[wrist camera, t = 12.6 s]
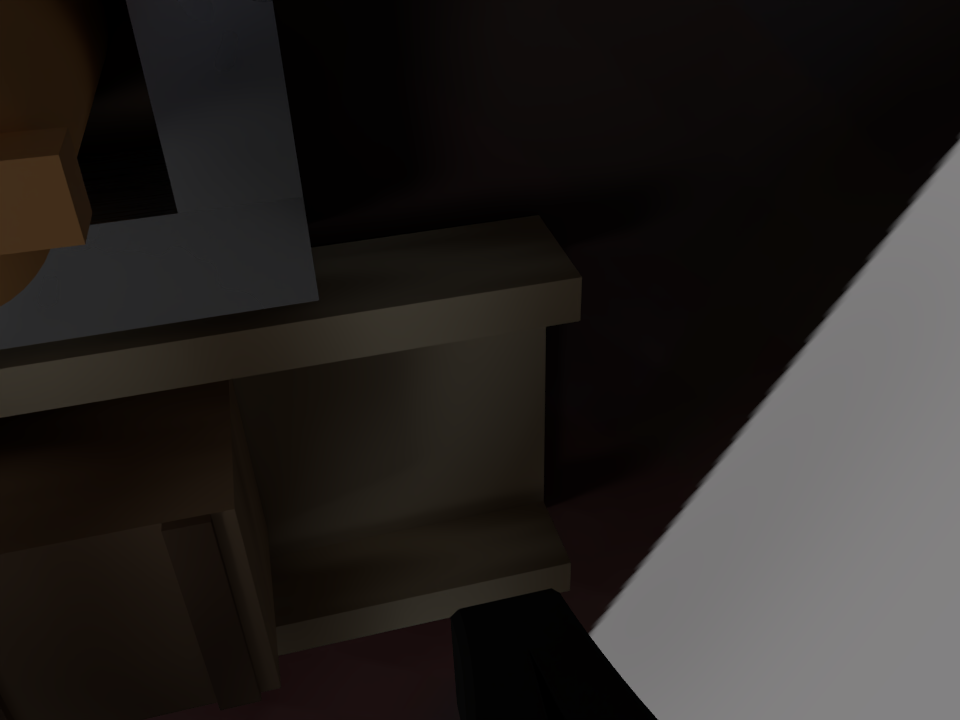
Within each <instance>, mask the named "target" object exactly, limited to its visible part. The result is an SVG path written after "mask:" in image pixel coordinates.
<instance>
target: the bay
mask: <svg viewBox="0 0 960 720" xmlns="http://www.w3.org/2000/svg"><path fill="white" fill-rule="evenodd" d="M311 251H312V257H313V264H314V270H315V276H316V283H317V289H318V296H319V300H318V301H312V302H305V303H299V304H292V305H286V306H280V307H273V308H267V309H260V310H254V311H247V312H241V313H234V314H228V315H221V316H215V317H208V318H202V319H195V320H189V321H182V322H176V323H169V324H163V325H156V326H150V327H143V328H137V329H130V330H124V331H117V332H111V333H104V334H98V335H92V336H85V337H79V338H72V339H66V340H59V341H53V342H46V343H40V344H33V345H27V346H20V347H14V348H7V349H1V350H0V418H2V417H8V416H14V415H20V414H26V413H32V412H38V411H44V410H50V409H56V408H62V407H68V406H74V405H80V404H86V403H92V402H98V401H104V400H110V399H116V398H122V397H128V396H134V395H140V394H146V393H152V392H158V391H164V390H170V389H176V388H182V387H188V386H194V385H200V384H206V383H212V382H218V381H224V380H230V379H232V381H233V385H234V389H235V394H236V398H237V402H238V407H239V411H240V415H241V419H242V424H243V428H244V432H245V436H246V441H247V445H248V449H249V453H250V458H251V462H252V466H253V470H254V475H255V479H256V483H257V487H258V492H259V496H260V500H261V504H262V509H263V513H264V517H265V521H266V526H267V530H268V540H269V552H270V564H271V576H272V588H273V600H274V612H275V623H276V635H277V647H278V656H279V655H283V654H288V653H292V652H297V651H301V650H305V649H310V648H314V647H319V646H323V645H328V644H332V643H337V642H341V641H346V640H350V639H355V638H359V637H364V636H368V635H373V634H377V633H381V632H386V631H390V630H395V629H399V628H404V627H408V626H413V625H417V624H422V623H426V622H431V621H435V620H440V619H444V618H449V617H451V616H452V615H453V614H454V613H455V612H456V611H457V610H458V609H461V608H465V607H470V606H474V605H479V604H483V603H488V602H492V601H497V600H501V599H506V598H510V597H515V596H519V595H524V594H528V593H532V592H537V591H541V590H546V589H550V588H552V589H554V590H556V591H557V592H559V593H560V592H565V591H569V590H570V573H571V562H570V560H569V557H568V555H567V553H566V551H565V548H564V546H563V544H562V542H561V539H560V537H559V535H558V533H557V530H556V528H555V526H554V524H553V521H552V519H551V517H550V515H549V512H548V510H547V508H546V506H545V503H544V437H545V358H546V327H547V326H553V325H559V324H565V323H571V322H577V321H580V314H581V288H582V277H581V275H580V274H579V272H578V271H577V269H576V268H575V266H574V265H573V264H572V262H571V261H570V259H569V258H568V256H567V255H566V254H565V252H564V251H563V249H562V248H561V246H560V245H559V243H558V242H557V241H556V239H555V238H554V236H553V235H552V233H551V232H550V230H549V229H548V228H547V226H546V225H545V223H544V222H543V220H542V219H541V217H540V216H539V215H535V216H528V217H521V218H514V219H507V220H500V221H493V222H486V223H479V224H472V225H465V226H458V227H452V228H445V229H438V230H431V231H424V232H417V233H410V234H403V235H396V236H389V237H382V238H375V239H368V240H361V241H354V242H347V243H340V244H333V245H326V246H319V247H312V248H311Z"/></svg>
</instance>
